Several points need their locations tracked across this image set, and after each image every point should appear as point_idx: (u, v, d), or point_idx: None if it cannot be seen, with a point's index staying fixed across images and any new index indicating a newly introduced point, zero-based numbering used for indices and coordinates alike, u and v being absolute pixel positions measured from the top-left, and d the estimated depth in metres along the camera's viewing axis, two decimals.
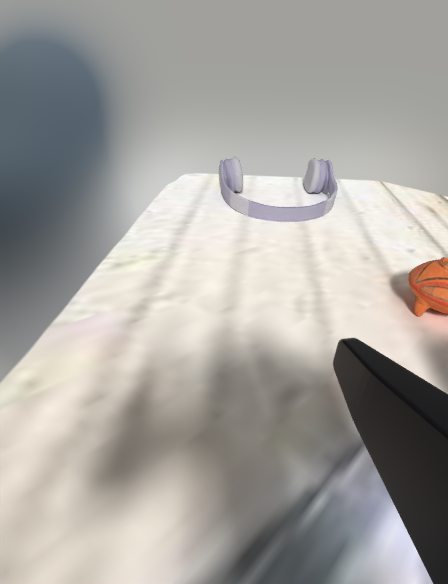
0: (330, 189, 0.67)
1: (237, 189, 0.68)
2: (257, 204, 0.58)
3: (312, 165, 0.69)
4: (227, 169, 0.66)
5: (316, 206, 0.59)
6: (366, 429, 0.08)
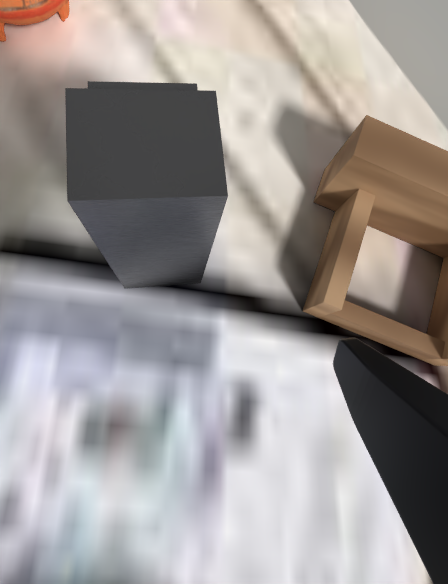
0: None
1: None
2: None
3: None
4: None
5: None
6: (366, 429, 0.08)
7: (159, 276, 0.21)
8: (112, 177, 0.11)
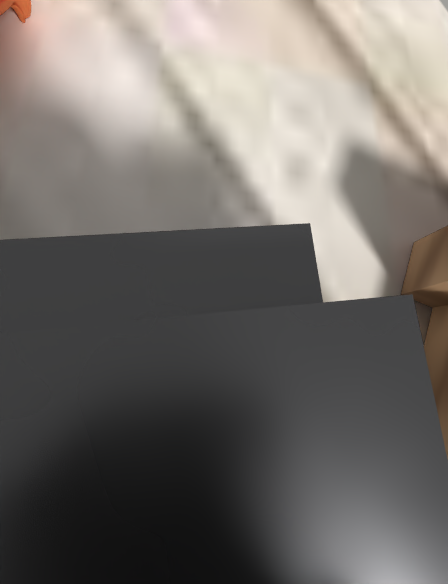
0: None
1: None
2: None
3: None
4: None
5: None
6: None
7: None
8: None
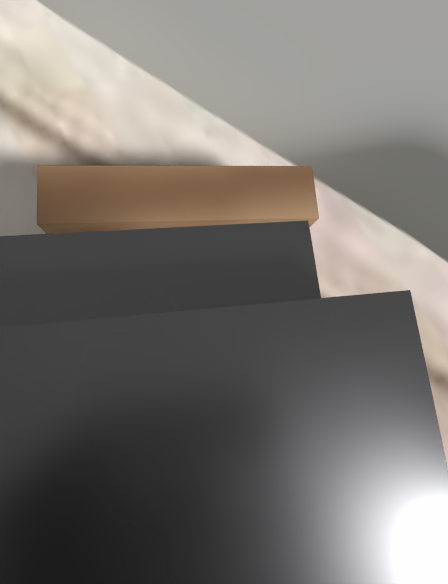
0: None
1: None
2: None
3: None
4: None
5: None
6: None
7: None
8: None
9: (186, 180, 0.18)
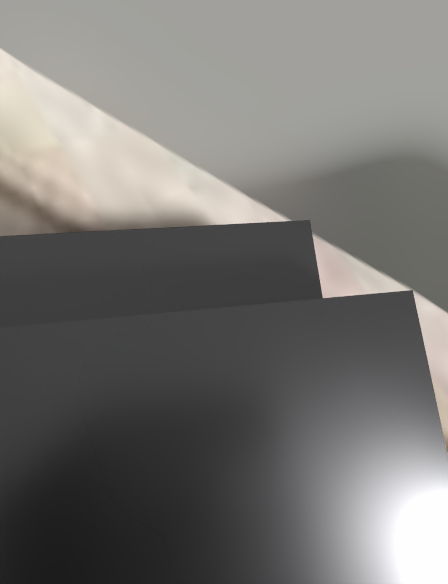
0: None
1: None
2: None
3: None
4: None
5: None
6: None
7: None
8: None
9: None
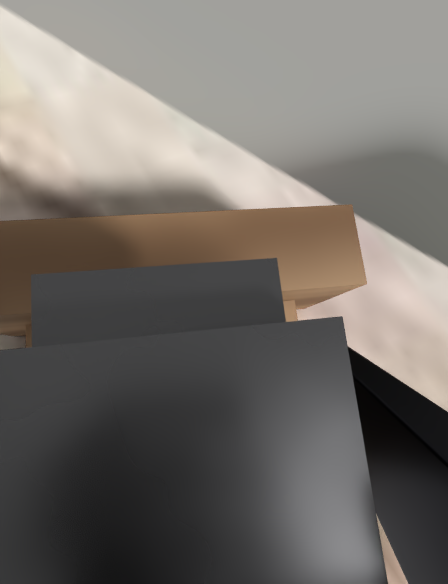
0: None
1: None
2: None
3: None
4: None
5: None
6: None
7: None
8: None
9: (165, 236, 0.11)
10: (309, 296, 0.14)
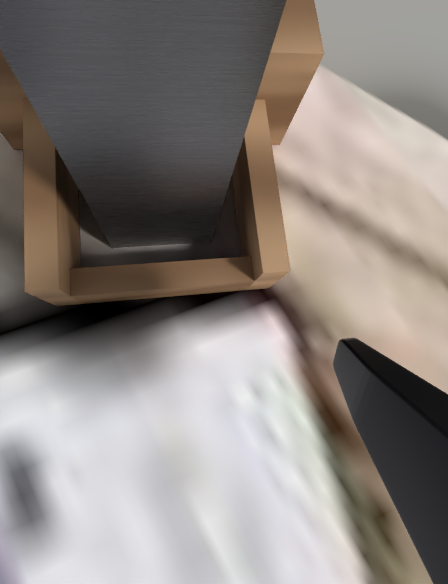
0: None
1: None
2: None
3: None
4: None
5: None
6: (366, 429, 0.08)
7: (157, 226, 0.15)
8: None
9: None
10: (276, 87, 0.15)
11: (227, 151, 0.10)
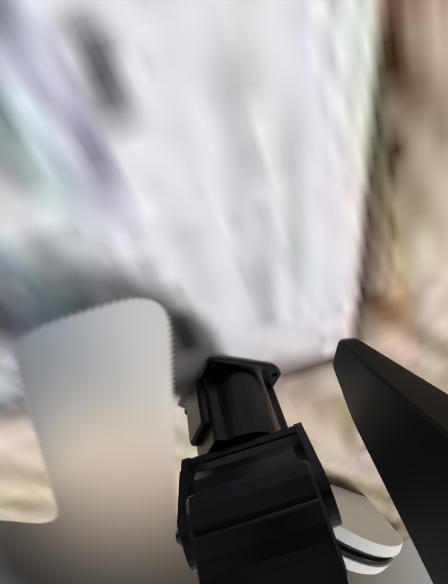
0: None
1: None
2: None
3: None
4: None
5: None
6: (366, 429, 0.08)
7: None
8: None
9: None
10: None
11: None
